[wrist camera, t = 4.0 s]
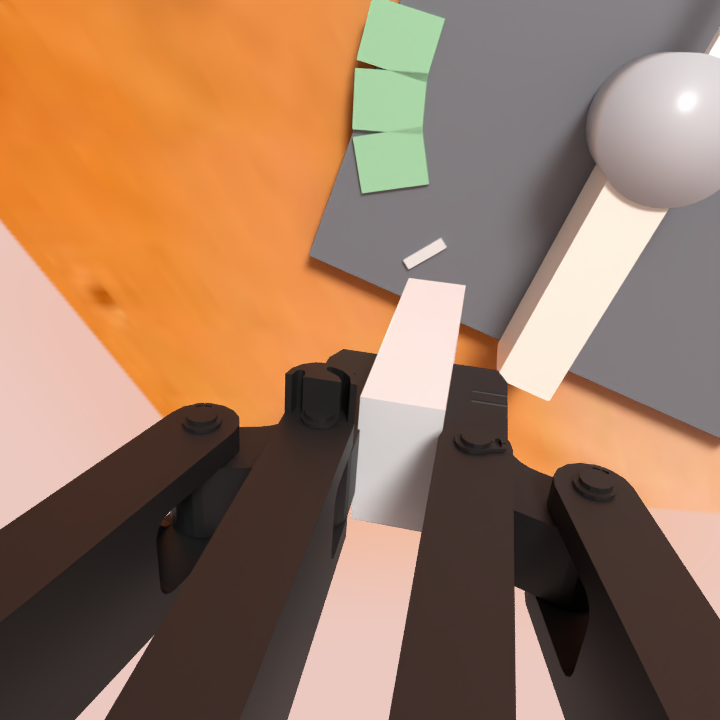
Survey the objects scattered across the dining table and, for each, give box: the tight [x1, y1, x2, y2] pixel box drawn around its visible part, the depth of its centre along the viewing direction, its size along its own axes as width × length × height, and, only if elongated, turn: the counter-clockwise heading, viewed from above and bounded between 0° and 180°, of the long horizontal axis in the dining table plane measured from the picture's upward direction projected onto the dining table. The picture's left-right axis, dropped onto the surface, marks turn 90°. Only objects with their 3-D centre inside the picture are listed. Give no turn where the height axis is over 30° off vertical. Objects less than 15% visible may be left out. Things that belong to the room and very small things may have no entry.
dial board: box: [309, 0, 720, 438], centre depth 26 cm, size 23×22×1 cm
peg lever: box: [497, 27, 720, 401], centre depth 24 cm, size 21×5×4 cm, turn 159°
